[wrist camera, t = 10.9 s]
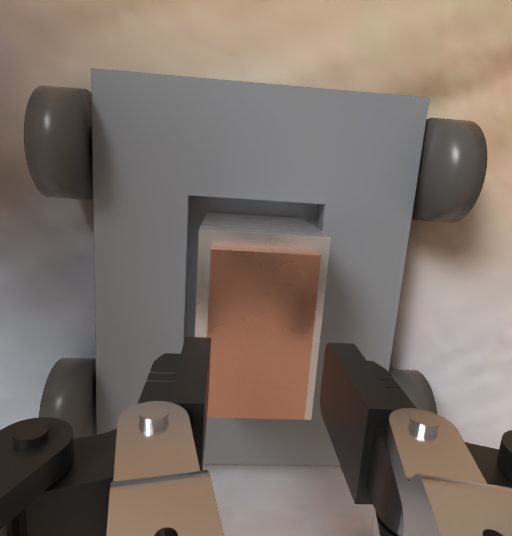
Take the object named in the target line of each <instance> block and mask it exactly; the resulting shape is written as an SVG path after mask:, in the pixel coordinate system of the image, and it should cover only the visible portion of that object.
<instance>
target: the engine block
mask: <svg viewBox="0 0 512 536" xmlns="http://www.w3.org/2000/svg"><path fill="white" fill-rule="evenodd" d="M330 241H331V237H330V236H328V235H327V234H325V233H324V232H322V231H321V230H320V229H318V228H317V227H315V226H314V225H312V224H311V223H309V222H308V221H306V220H305V219H303V218H301V217H284V216H268V215H252V214H235V213H219V212H207V213H206V215H205V218H204V220H203V222H202V224H201V226H200V228H199V240H198V266H197V292H196V317H195V337H207V338H211V356H210V376H209V396H208V412H207V417H213V418H254V419H294V420H311V418H312V409H313V399H314V390H315V381H316V372H317V362H318V353H319V344H320V334H321V325H322V316H323V306H324V297H325V288H326V278H327V269H328V260H329V251H330Z"/></svg>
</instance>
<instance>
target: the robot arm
mask: <svg viewBox="0 0 512 536" xmlns="http://www.w3.org/2000/svg"><path fill="white" fill-rule="evenodd" d="M210 356H211V338H207V337H185V340H184V344H183V348H182V352H181V354H175V353H164V354H163V355H161V356H160V357H159V358H157V359H156V360H155V361H154V362H153V364H152V367H151V370H150V373H149V375H148V378H147V381H146V383H145V385H144V388H143V391H142V393H141V396H140V398H139V401H138V404H136V405H134V406H132V407H130V408H128V409H126V410H125V411H124V412H123V413H122V414H121V415H120V417H119V418H118V422H117V428H116V429H114V430H112V431H109V432H106V433H103V434H98V435H93V436H87V437H81V438H76V439H73V429H72V427H71V425H70V424H69V423H67V422H66V421H64V420H61V419H57V418H51V417H40V418H32V419H27V420H23V421H20V422H17V423H14V424H12V425H9V426H7V427H5V428H4V429H2V430H0V536H224V534H223V529H222V525H221V521H220V517H219V512H218V508H217V504H216V500H215V495H214V491H213V487H212V483H211V478H210V475H209V472H208V471H207V470H204V471H203V460H204V448H205V436H206V424H207V412H208V396H209V376H210ZM320 409H321V415H322V418H323V421H324V423H325V426H326V429H327V431H328V434H329V436H330V439H331V442H332V444H333V447H334V450H335V452H336V455H337V458H338V460H339V463H340V465H341V468H342V471H343V473H344V476H345V479H346V481H347V484H348V487H349V489H350V492H351V494H352V497H353V500H354V502H355V504H373V505H374V507H375V514H374V520H373V536H512V430H511V431H508V432H505V433H504V434H503V436H502V440H501V444H500V449H499V450H498V449H494V448H489V447H484V446H480V445H475V444H470V443H466V442H464V441H463V439H462V437H461V435H460V433H459V432H458V430H457V429H456V427H455V426H454V425H453V424H452V423H451V422H449V421H448V420H446V419H445V418H443V417H441V416H439V415H437V414H435V413H432V412H429V411H426V410H422V409H417V408H416V406H415V405H414V404H413V402H412V401H411V400H410V399H409V397H408V396H407V395H406V394H405V392H404V391H403V390H401V387H400V386H399V385H398V383H397V382H396V381H394V378H393V377H392V376H391V375H390V373H389V372H388V371H387V370H386V369H385V368H383V367H382V366H380V365H378V364H377V363H375V362H374V361H367V360H366V359H365V358H364V356H363V355H362V353H361V352H360V351H359V349H358V348H357V346H356V345H355V344H354V343H327V345H326V348H325V355H324V364H323V373H322V382H321V390H320Z"/></svg>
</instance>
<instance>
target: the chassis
mask: <svg viewBox="0 0 512 536" xmlns="http://www.w3.org/2000/svg"><path fill="white" fill-rule="evenodd" d="M91 81H92V94H91V93H90V92H89V91H88V90H86V89H77V88H65V87H53V86H39V87H37V88H36V89H35V90H34V91H33V93H32V95H31V96H30V99H29V101H28V105H27V108H26V114H25V122H24V144H25V153H26V159H27V164H28V168H29V172H30V174H31V177H32V180H33V182H34V184H35V186H36V187H37V189H38V190H39V192H40V193H41V194H43V195H44V196H46V197H57V198H73V199H91V198H92V197H93V214H94V280H95V347H96V359H83V358H61V359H60V360H58V361H57V362H56V364H55V365H54V367H53V368H52V370H51V372H50V374H49V376H48V379H47V382H46V384H45V388H44V391H43V395H42V399H41V405H40V411H39V418H40V417H51V418H57V419H61V420H64V421H66V422H67V423H69V424H70V425H71V427H72V429H73V439H76V438H81V437H87V436H93V435H98V434H103V433H106V432H109V431H112V430H114V429H116V428H117V422H118V418H119V417H120V415H121V414H122V413H123V412H124V411H125V410H126V409H128V408H130V407H132V406H134V405H136V404H138V401H139V398H140V396H141V393H142V391H143V388H144V385H145V383H146V381H147V378H148V375H149V373H150V370H151V367H152V364H153V362H154V361H155V360H156V359H157V358H159V357H160V356H161V355H163V354H164V353H175V354H181V352H182V348H183V344H184V340H185V337H195V317H196V292H197V266H198V240H199V228H200V226H201V224H202V222H203V220H204V218H205V215H206V213H207V212H219V213H235V214H252V215H268V216H284V217H301V218H303V219H305V220H306V221H308V222H309V223H311V224H312V225H314V226H315V227H317V228H318V229H320V230H321V231H322V232H324V233H325V234H327V235H328V236H330V237H331V241H330V251H329V260H328V269H327V278H326V288H325V297H324V306H323V316H322V325H321V334H320V344H319V353H318V362H317V372H316V381H315V390H314V399H313V409H312V418H311V420H294V419H254V418H213V417H207V424H206V436H205V448H204V460H203V464H233V465H292V466H341V465H340V463H339V460H338V458H337V455H336V452H335V450H334V447H333V444H332V442H331V439H330V436H329V434H328V431H327V429H326V426H325V423H324V421H323V418H322V415H321V409H320V390H321V382H322V373H323V364H324V355H325V348H326V345H327V343H354V344H355V345H356V346H357V348H358V349H359V351H360V352H361V353H362V355H363V356H364V358H365V359H366V360H367V361H374V362H375V363H377V364H378V365H380V366H382V367H383V368H385V369H386V370H387V371H388V372H389V373H390V375H391V376H392V377H393V378H394V381H396V382H397V383H398V385H399V386H400V387H401V390H403V391H404V392H405V394H406V395H407V396H408V397H409V399H410V400H411V401H412V402H413V404H414V405H415V406H416V408H417V409H422V410H426V411H429V412H432V413H435V414H437V409H436V403H435V399H434V396H433V393H432V390H431V387H430V385H429V383H428V381H427V380H426V378H425V377H424V376H423V375H422V374H421V373H420V372H419V371H416V370H395V369H389V367H390V360H391V353H392V347H393V340H394V333H395V326H396V320H397V313H398V306H399V300H400V293H401V286H402V279H403V273H404V266H405V259H406V253H407V246H408V239H409V232H410V226H411V219H414V220H420V221H436V222H457V221H459V220H461V219H462V218H464V217H465V216H466V215H467V214H468V213H469V212H470V210H471V209H472V207H473V206H474V204H475V203H476V201H477V199H478V197H479V194H480V192H481V189H482V186H483V183H484V179H485V174H486V168H487V145H486V140H485V137H484V134H483V132H482V130H481V128H480V127H479V126H478V125H477V124H476V123H474V122H472V121H465V120H453V119H440V118H429V119H427V120H426V118H427V111H428V105H429V98H427V97H415V96H403V95H392V94H380V93H369V92H357V91H346V90H334V89H322V88H311V87H299V86H288V85H276V84H264V83H253V82H241V81H230V80H218V79H206V78H195V77H183V76H172V75H160V74H149V73H137V72H125V71H114V70H102V69H91Z"/></svg>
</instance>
